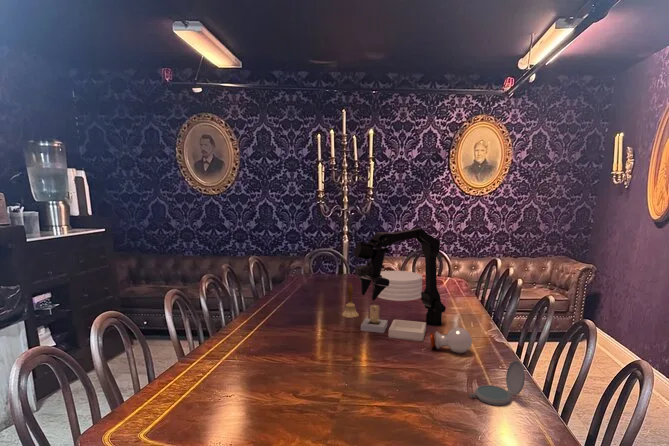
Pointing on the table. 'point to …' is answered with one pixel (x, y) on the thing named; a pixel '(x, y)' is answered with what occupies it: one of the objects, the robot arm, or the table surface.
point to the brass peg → (374, 314)
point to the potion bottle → (452, 340)
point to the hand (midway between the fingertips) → (367, 297)
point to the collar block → (374, 326)
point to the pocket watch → (500, 395)
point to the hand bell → (350, 305)
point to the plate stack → (402, 286)
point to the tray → (407, 330)
